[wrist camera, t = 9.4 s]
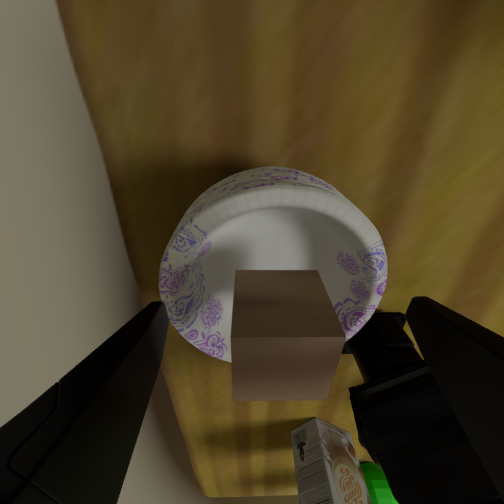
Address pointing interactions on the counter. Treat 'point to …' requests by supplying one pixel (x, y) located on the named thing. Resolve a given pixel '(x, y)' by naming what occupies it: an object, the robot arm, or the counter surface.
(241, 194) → the paper bowls
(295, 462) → the coffee box
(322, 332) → the walnut block
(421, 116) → the counter surface
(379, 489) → the plastic bottle
